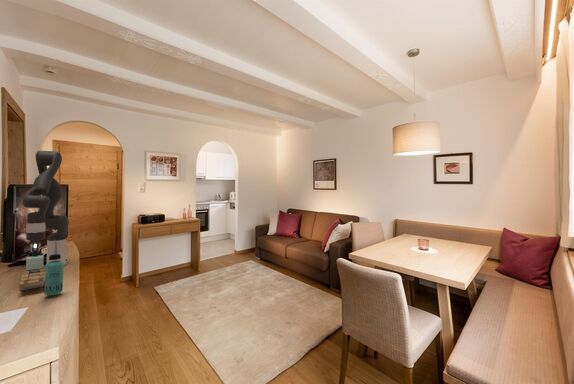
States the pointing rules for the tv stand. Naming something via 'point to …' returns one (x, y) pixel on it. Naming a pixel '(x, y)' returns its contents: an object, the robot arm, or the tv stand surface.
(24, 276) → the beam
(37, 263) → the grey rectangular block
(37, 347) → the tv stand surface
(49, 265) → the beverage bottle
